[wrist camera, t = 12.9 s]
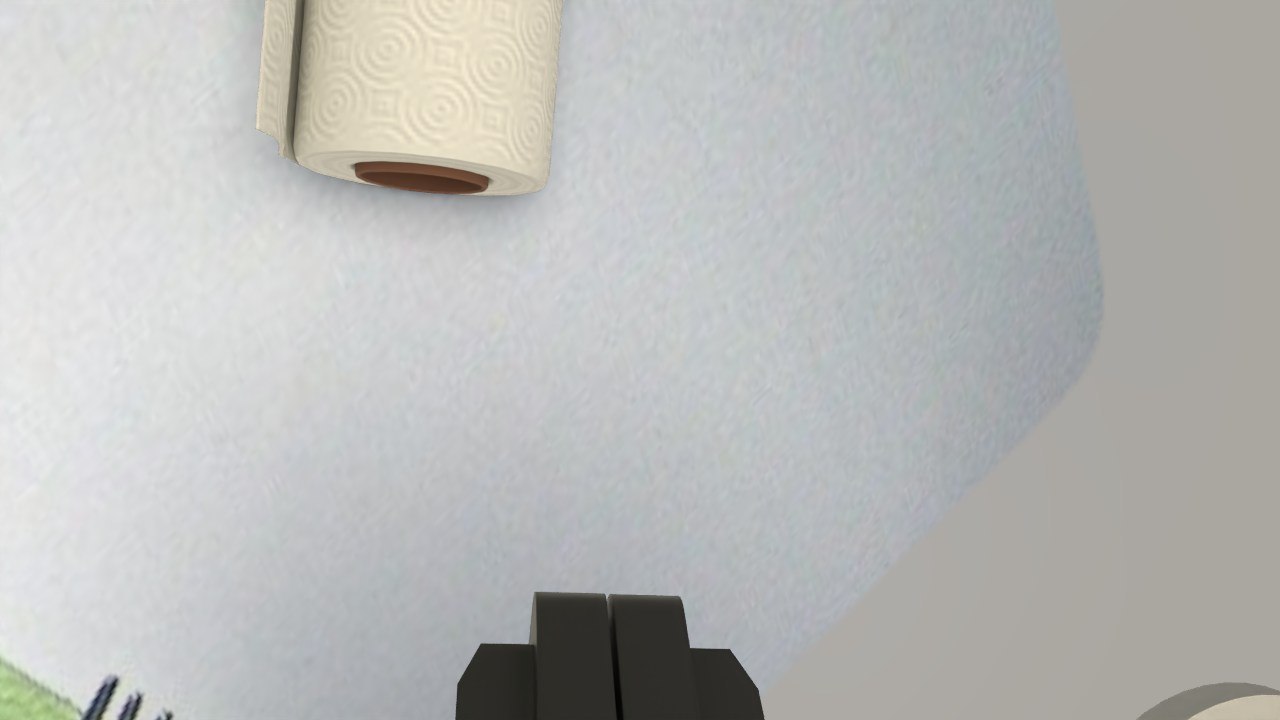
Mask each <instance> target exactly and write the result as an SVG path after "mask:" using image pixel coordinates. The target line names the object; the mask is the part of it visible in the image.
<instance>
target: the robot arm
mask: <svg viewBox="0 0 1280 720" xmlns="http://www.w3.org/2000/svg"><path fill="white" fill-rule="evenodd" d="M455 720H764V714H763V710H762V705H761V700H760V696H759V691H758V688H757V687H756V685H755V684H754V683H753V681H752V680H751V678H750V677H749V676H748V674H747V673H746V671H745V670H744V668H743V667H742V666H741V664H740V663H739V661H738V660H737V659H736V657H735V656H734V654H733V653H732V651H731V650H730V649H700V648H690V645H689V639H688V633H687V626H686V620H685V613H684V608H683V603H682V600H681V598H680V597H679V596H656V595H620V594H610V595H609V597H608V600H606V596H605V594H596V593H559V592H535V593H534V598H533V606H532V616H531V627H530V637H529V644H483V643H481V644H480V646H479V648H478V650H477V651H476V653H475V655H474V656H473V658H472V660H471V662H470V663H469V665H468V667H467V668H466V670H465V672H464V674H463V675H462V677H461V679H460V680H459V682H458V685H457V702H456V719H455Z"/></svg>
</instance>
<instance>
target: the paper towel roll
mask: <svg viewBox="0 0 1280 720" xmlns="http://www.w3.org/2000/svg"><path fill="white" fill-rule="evenodd" d="M562 5H563V0H266V3H265V15H264V28H263V40H262V52H261V65H260V77H259V90H258V102H257V114H256V127H255V129H257V130H259V131H261V132H264V133H266V134H268V135H271V136H272V137H273V138H274V139H275V140H276V141H278V142H279V154H278V155H280V156H282V157H285V158H287V159H289V160H291V161H293V162H295V163H297V164H299V165H301V166H303V167H305V168H308V169H310V170H312V171H315V172H317V173H319V174H323V175H328V176H332V177H336V178H340V179H344V180H348V181H352V182H358V183H364V184H370V185H377V186H383V187H389V188H395V189H402V190H409V191H418V192H427V193H443V194H462V195H480V196H483V195H519V194H525V193H532V192H538V191H539V190H541V189H542V188H543V187H544V186H545V185H546V182H547V180H548V177H549V171H550V158H551V146H552V133H553V120H554V107H555V95H556V82H557V69H558V56H559V44H560V31H561V18H562Z"/></svg>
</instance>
